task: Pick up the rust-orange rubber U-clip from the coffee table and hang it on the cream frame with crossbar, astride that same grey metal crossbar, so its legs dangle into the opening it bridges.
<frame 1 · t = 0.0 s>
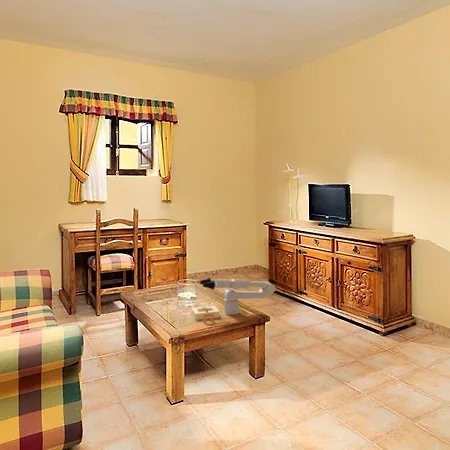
hand: (201, 283, 260), 22 cm above the table, fingers open, 7 cm apart
cream frame with crossbar: (205, 315, 262), on the table
clip: (208, 321, 250), on the table
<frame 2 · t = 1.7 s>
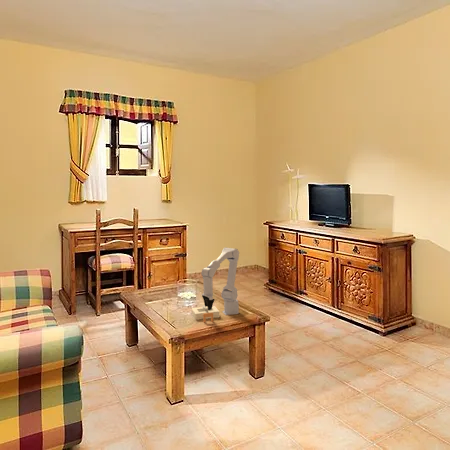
hand: (208, 308, 249), 9 cm above the table, fingers open, 7 cm apart
nothing on the table moved.
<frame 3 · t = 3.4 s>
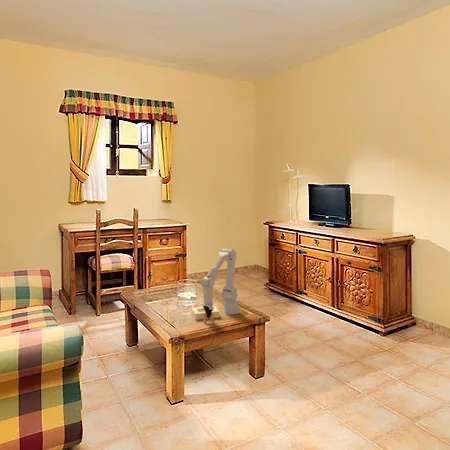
hand: (208, 317, 250), 3 cm above the table, fingers closed on clip, 1 cm apart
clip: (208, 321, 250), on the table, touching gripper
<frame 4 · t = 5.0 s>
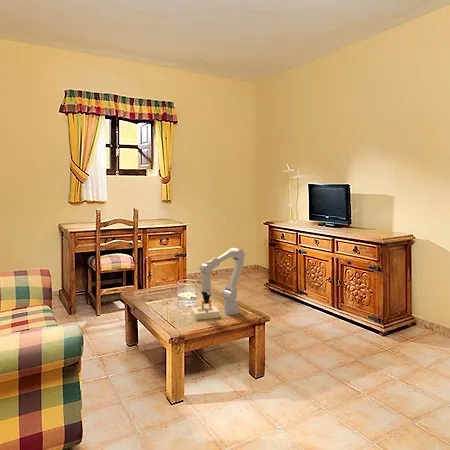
hand: (206, 302, 257), 10 cm above the table, fingers closed on clip
clip: (206, 308, 257), point 6 cm above the table, touching gripper
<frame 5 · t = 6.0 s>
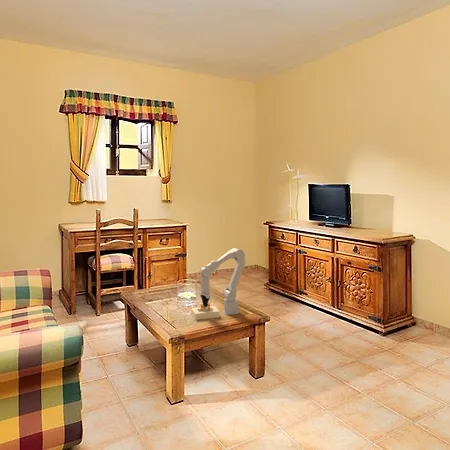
hand: (205, 306, 261), 7 cm above the table, fingers closed on clip, 1 cm apart
clip: (205, 312, 262), point 2 cm above the table, touching gripper, cream frame with crossbar
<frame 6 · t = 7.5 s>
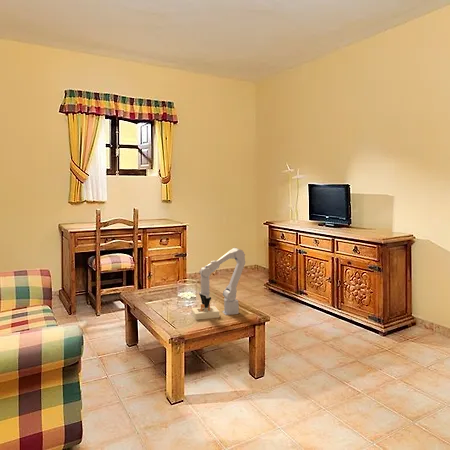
hand: (205, 306, 261), 7 cm above the table, fingers open, 7 cm apart
clip: (205, 312, 262), point 2 cm above the table, touching cream frame with crossbar
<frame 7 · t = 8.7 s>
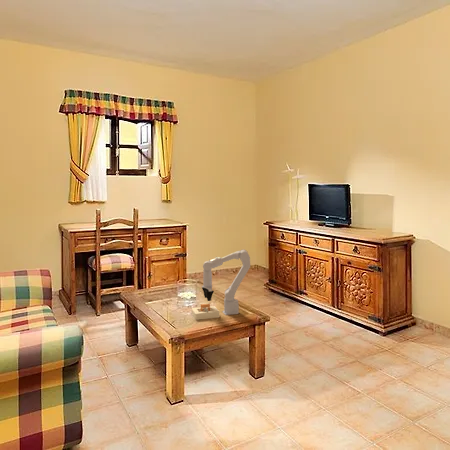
hand: (207, 299, 266), 9 cm above the table, fingers open, 7 cm apart
nothing on the table moved.
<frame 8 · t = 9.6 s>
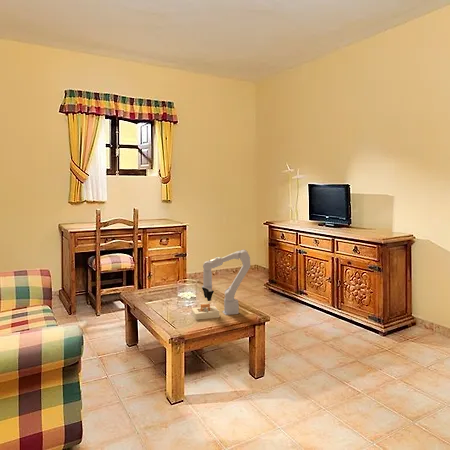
hand: (207, 299, 266), 9 cm above the table, fingers open, 7 cm apart
nothing on the table moved.
at the end: clip 0.0 cm off-centre on the cream frame with crossbar, point 2.1 cm above the cream frame with crossbar's base; clip touching cream frame with crossbar; the gripper is holding nothing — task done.
